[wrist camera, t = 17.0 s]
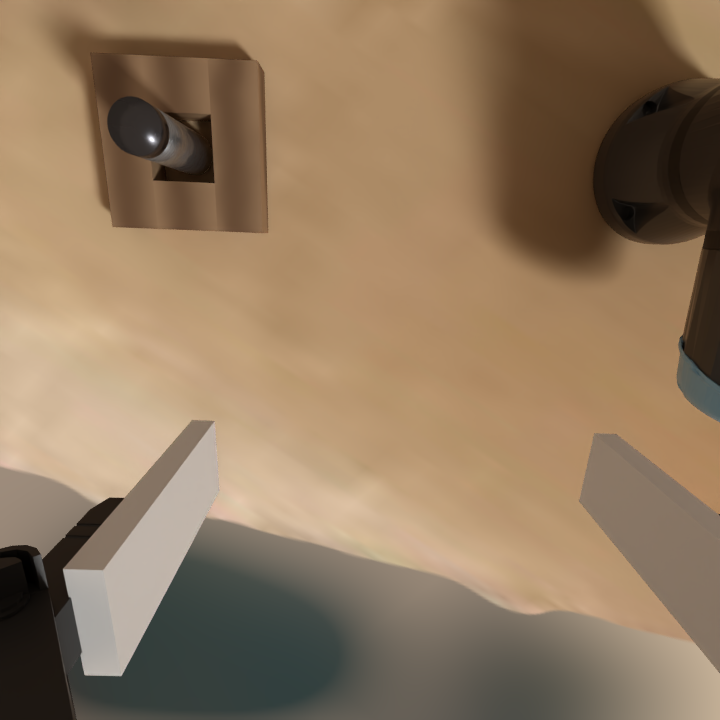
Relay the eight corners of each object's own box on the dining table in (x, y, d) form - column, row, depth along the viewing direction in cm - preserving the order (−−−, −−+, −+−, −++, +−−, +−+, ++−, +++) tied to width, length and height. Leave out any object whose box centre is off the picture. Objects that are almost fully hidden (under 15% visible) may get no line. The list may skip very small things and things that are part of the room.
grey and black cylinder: (211, 133, 43) (158, 97, 31) (214, 175, 44) (163, 156, 32) (171, 131, 43) (103, 94, 31) (175, 174, 44) (111, 154, 32)
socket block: (264, 72, 41) (257, 60, 38) (268, 232, 46) (262, 232, 43) (109, 65, 41) (90, 52, 38) (128, 227, 45) (112, 226, 42)
